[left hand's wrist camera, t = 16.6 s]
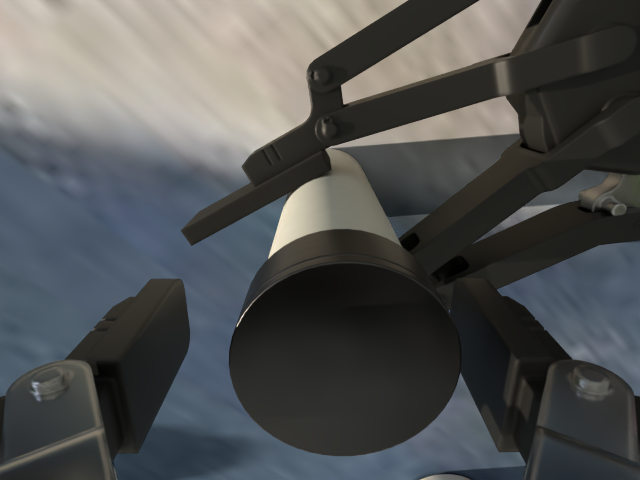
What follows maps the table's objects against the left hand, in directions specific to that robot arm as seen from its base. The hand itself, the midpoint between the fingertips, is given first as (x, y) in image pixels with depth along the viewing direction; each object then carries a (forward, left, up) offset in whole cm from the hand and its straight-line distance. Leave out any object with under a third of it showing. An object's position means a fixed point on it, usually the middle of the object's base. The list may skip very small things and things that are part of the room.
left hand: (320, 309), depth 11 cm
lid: (0, 0, +3) cm, 3 cm away
